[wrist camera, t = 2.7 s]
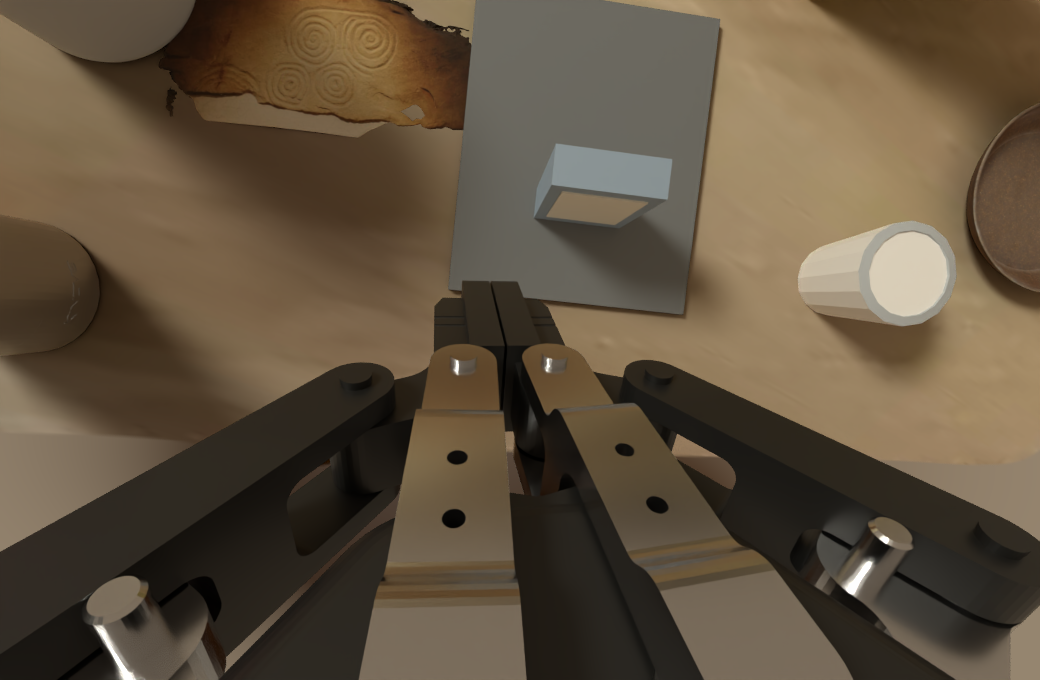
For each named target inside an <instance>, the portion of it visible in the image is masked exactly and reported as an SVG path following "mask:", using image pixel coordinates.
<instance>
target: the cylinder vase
mask: <svg viewBox="0 0 1040 680" xmlns="http://www.w3.org/2000/svg"><path fill="white" fill-rule="evenodd" d="M195 1H196V0H0V14H1V15H3V16H5V17H6V18H8V19H10V20H11V21H13V22H15V23H16V24H18V25H20V26H21V27H23V28H25V29H26V30H28V31H30V32H31V33H33V34H34V35H36V36H38V37H39V38H41V39H43V40H44V41H46V42H48V43H49V44H51V45H53V46H54V47H56V48H58V49H60V50H62V51H64V52H66V53H69V54H71V55H74V56H77V57H80V58H83V59H87V60H92V61H98V62H125V61H131V60H136V59H139V58H142V57H145V56H148V55H150V54H152V53H154V52H156V51H158V50H160V49H161V48H163V47H164V46H165V45H167V44H168V43H169V42H170V41H171V40H172V39H173V38H174V37H175V36H176V35H177V34H178V33H179V32H180V31H181V30H182V28H183V27H184V25H185V24H186V22H187V20H188V19H189V17H190V15H191V12H192V10H193V7H194V4H195Z"/></svg>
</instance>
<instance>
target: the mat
mask: <svg viewBox="0 0 1040 680" xmlns="http://www.w3.org/2000/svg"><path fill="white" fill-rule="evenodd" d="M719 26H720V19H716V18H710V17H704V16H698V15H691V14H685V13H679V12H673V11H666V10H660V9H654V8H648V7H641V6H635V5H629V4H623V3H616V2H610V1H604V0H476V5H475V15H474V26H473V36H472V47H471V57H470V68H469V78H468V88H467V99H466V109H465V120H464V130H463V140H462V151H461V161H460V172H459V182H458V192H457V203H456V213H455V224H454V234H453V244H452V255H451V265H450V276H449V286H448V289H449V290H458V291H462V280H464V281H489V282H491V281H517V282H518V284H519V286H520V289H521V292H522V294H523V297H524V298H532V299H541V300H551V301H560V302H569V303H578V304H588V305H597V306H606V307H615V308H625V309H634V310H643V311H652V312H662V313H671V314H681V315H683V312H684V304H685V296H686V288H687V280H688V272H689V264H690V256H691V248H692V241H693V233H694V225H695V217H696V209H697V201H698V193H699V185H700V177H701V169H702V161H703V153H704V145H705V137H706V129H707V121H708V113H709V105H710V97H711V89H712V81H713V73H714V65H715V57H716V50H717V42H718V34H719ZM556 144H563V145H571V146H578V147H585V148H593V149H600V150H608V151H615V152H623V153H630V154H637V155H645V156H652V157H660V158H667V159H672V168H671V176H670V184H669V192H668V200H666V201H664V202H663V203H661V204H659V205H658V206H656V207H654V208H653V209H651V210H649V211H648V212H646V213H644V214H643V215H641V216H639V217H638V218H636V219H634V220H633V221H631V222H629V223H628V224H626V225H624V226H623V227H621V228H611V227H603V226H595V225H587V224H578V223H570V222H562V221H554V220H546V219H537V218H534V211H535V201H536V192H537V187H538V184H539V182H540V180H541V177H542V175H543V173H544V170H545V168H546V166H547V163H548V161H549V159H550V156H551V154H552V152H553V149H554V147H555V145H556Z"/></svg>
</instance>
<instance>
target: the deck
mask: <svg viewBox="0 0 1040 680" xmlns="http://www.w3.org/2000/svg"><path fill="white" fill-rule="evenodd" d="M671 168H672V159H667V158H660V157H652V156H645V155H637V154H630V153H623V152H615V151H608V150H600V149H593V148H585V147H578V146H571V145H563V144H556V145H555V147H554V149H553V152H552V154H551V156H550V159H549V161H548V163H547V166H546V168H545V170H544V173H543V175H542V177H541V180H540V182H539V184H538V187H537V192H536V201H535V211H534V218H537V219H546V220H554V221H562V222H570V223H578V224H587V225H595V226H603V227H611V228H621V227H623V226H624V225H626V224H628V223H629V222H631V221H633V220H634V219H636V218H638V217H639V216H641V215H643V214H644V213H646V212H648V211H649V210H651V209H653V208H654V207H656V206H658V205H659V204H661V203H663V202H664V201H666V200H668V192H669V184H670V176H671Z"/></svg>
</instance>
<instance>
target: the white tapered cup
mask: <svg viewBox="0 0 1040 680" xmlns="http://www.w3.org/2000/svg"><path fill="white" fill-rule="evenodd" d="M955 280H956V264H955V256H954V254H953V252H952V250H951V247H950V245H949V243H948V241H947V239H946V238H945V237H944V236H943V235H941V234H940V233H939V232H938V231H937V230H936V229H934V228H933V227H932V226H930V225H926V224H923V223H919V222H916V221H908V222H900V223H894V224H891V225H887V226H884V227H881V228H878V229H875V230H872V231H869V232H865V233H862V234H859V235H856V236H853V237H850V238H847V239H843V240H840V241H837V242H834V243H831V244H828V245H825V246H821V247H820V248H818V249H817V250H815V251H813V252H812V253H810V254H809V255H808V257H807V258H806V259H805V261H804V262H803V263H802V265H801V268H800V272H799V275H798V286H799V293H800V295H801V297H802V298H803V300H804V302H805V304H806V305H807V306H809V307H810V308H811V309H812V310H814V311H815V312H817V313H821V314H824V315H828V316H835V317H842V318H848V319H855V320H862V321H869V322H876V323H883V324H889V325H896V326H908V325H915V324H921V323H923V322H925V321H926V320H928V319H929V318H931V317H933V316H934V315H936V314H938V313H939V311H940V310H941V309H942V307H943V306H944V305H945V304H946V302H947V301H948V300H949V298H950V297H951V294H952V290H953V287H954V284H955Z"/></svg>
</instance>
